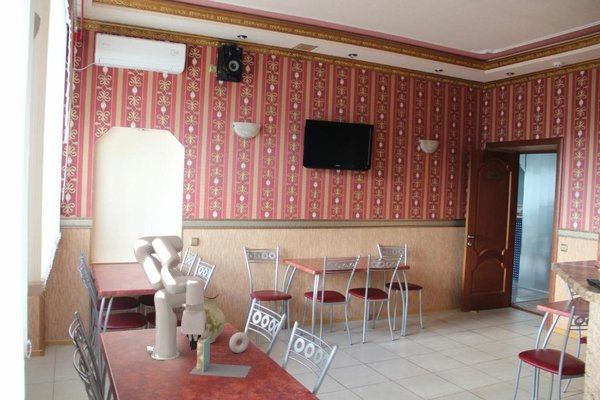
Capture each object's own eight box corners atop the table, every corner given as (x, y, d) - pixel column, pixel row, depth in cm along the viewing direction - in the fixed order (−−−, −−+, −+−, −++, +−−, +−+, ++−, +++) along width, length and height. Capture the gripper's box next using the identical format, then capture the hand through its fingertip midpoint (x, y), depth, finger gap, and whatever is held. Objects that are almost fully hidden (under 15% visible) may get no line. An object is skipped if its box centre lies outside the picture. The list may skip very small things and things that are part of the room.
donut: (230, 355, 244) (231, 334, 244) (227, 353, 247) (228, 332, 247) (249, 352, 249) (250, 331, 249) (246, 350, 252) (247, 330, 252)
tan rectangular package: (196, 372, 219) (197, 341, 219) (202, 364, 228) (203, 335, 228) (203, 372, 219) (204, 342, 218) (209, 365, 228) (210, 336, 227)
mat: (188, 374, 217) (189, 373, 217) (198, 363, 231) (198, 362, 231) (245, 378, 214) (245, 377, 214) (251, 367, 228) (251, 366, 228)
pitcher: (213, 349, 252) (214, 298, 252) (170, 344, 259) (171, 294, 259) (231, 337, 274) (233, 290, 274) (191, 333, 280) (193, 287, 280)
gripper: (174, 308, 220) (174, 351, 220) (208, 309, 219) (208, 353, 219) (180, 304, 228) (180, 346, 228) (213, 306, 226) (212, 347, 226)
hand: (193, 349), depth 223 cm, fingers closed
